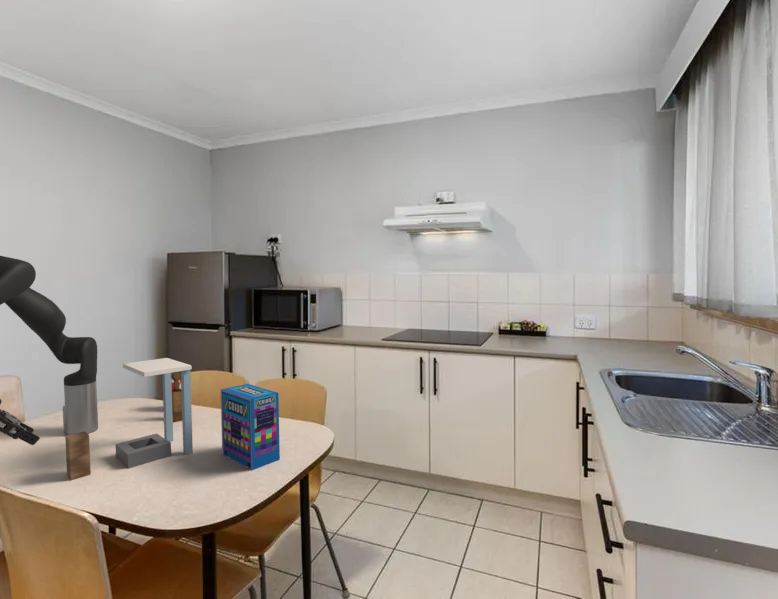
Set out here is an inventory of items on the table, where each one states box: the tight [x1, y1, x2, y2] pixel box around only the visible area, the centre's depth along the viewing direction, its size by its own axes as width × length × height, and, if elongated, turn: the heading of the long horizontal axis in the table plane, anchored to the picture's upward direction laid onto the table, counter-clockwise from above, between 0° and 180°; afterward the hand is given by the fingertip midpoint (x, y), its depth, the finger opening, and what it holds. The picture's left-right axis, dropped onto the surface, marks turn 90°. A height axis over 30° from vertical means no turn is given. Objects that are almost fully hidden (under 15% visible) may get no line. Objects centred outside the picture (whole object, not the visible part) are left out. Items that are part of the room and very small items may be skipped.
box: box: [220, 383, 281, 471], centre depth 127 cm, size 17×9×20 cm, turn 49°
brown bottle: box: [171, 371, 182, 423], centre depth 162 cm, size 7×6×18 cm
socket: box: [115, 433, 172, 469], centre depth 128 cm, size 12×12×4 cm
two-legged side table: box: [122, 357, 194, 455], centre depth 131 cm, size 13×19×27 cm
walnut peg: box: [64, 431, 91, 481], centre depth 116 cm, size 4×4×11 cm
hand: (33, 437), depth 109 cm, fingers open, 8 cm apart
